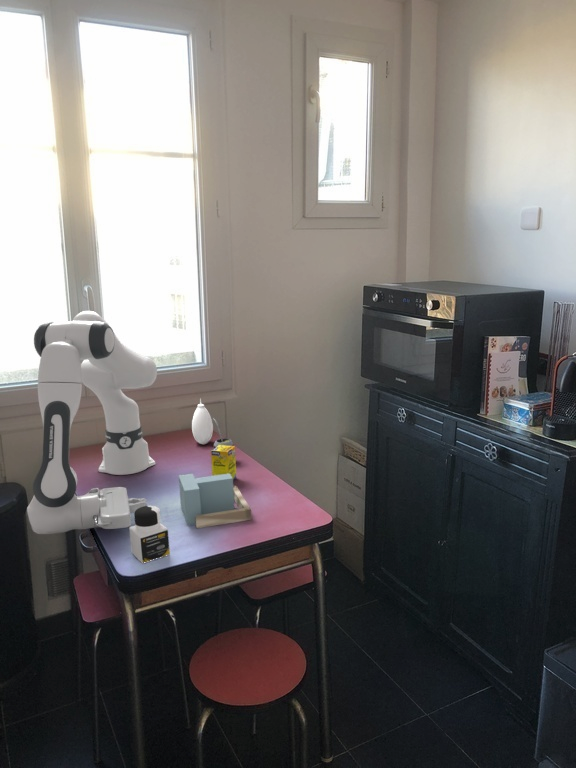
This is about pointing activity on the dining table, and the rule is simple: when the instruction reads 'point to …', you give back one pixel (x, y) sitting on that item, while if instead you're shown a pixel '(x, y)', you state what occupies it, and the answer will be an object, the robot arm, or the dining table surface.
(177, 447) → the dining table surface
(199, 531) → the dining table surface
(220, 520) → the frame
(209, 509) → the blue block with tab
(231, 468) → the supplement box
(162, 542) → the medicine bottle
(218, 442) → the mate gourd
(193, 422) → the white bulb air blower
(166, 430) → the dining table surface
